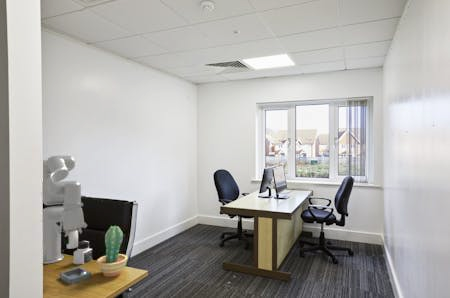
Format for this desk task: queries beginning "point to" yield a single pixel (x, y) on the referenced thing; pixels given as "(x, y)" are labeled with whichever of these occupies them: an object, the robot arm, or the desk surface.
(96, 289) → the desk surface
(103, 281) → the desk surface
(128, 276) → the desk surface
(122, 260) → the potted cactus
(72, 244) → the shaker
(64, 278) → the tray
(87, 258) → the medicine bottle
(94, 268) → the desk surface
